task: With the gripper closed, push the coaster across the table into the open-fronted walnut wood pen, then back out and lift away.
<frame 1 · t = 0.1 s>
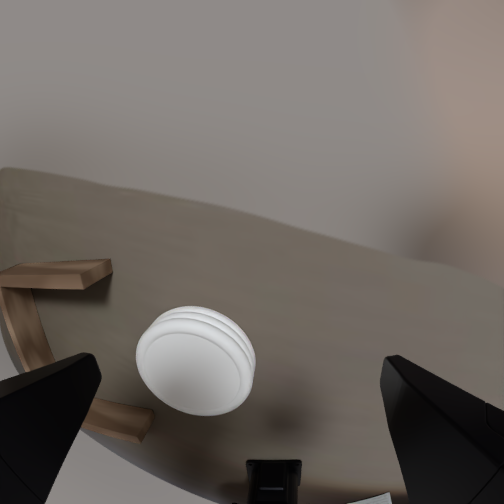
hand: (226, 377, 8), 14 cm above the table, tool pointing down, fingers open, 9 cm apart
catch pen: (83, 344, 26), on the table
supplement box: (367, 503, 30), on the table
coaster: (201, 352, 25), on the table
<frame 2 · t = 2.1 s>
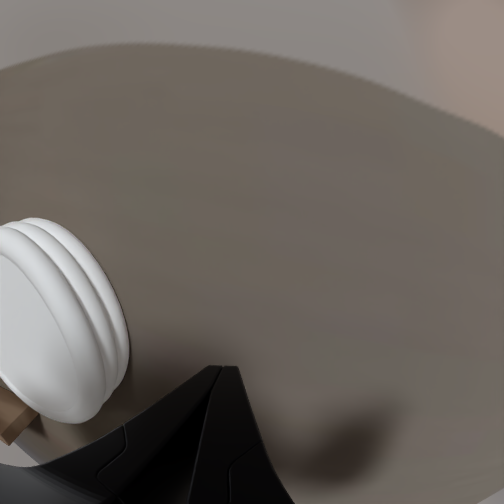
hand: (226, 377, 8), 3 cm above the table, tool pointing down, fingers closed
coaster: (57, 310, 12), on the table
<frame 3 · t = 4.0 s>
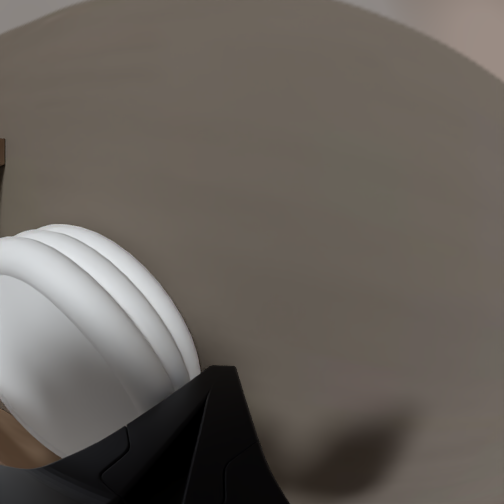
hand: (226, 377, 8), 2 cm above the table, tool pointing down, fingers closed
coaster: (91, 342, 10), on the table, touching gripper
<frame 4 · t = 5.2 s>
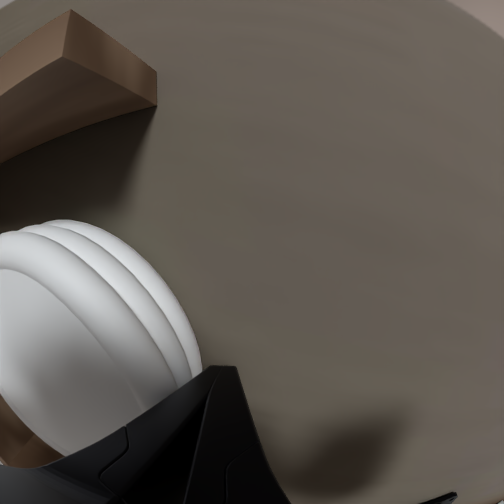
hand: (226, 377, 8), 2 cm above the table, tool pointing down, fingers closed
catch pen: (55, 337, 10), on the table
coaster: (93, 338, 10), on the table, touching gripper
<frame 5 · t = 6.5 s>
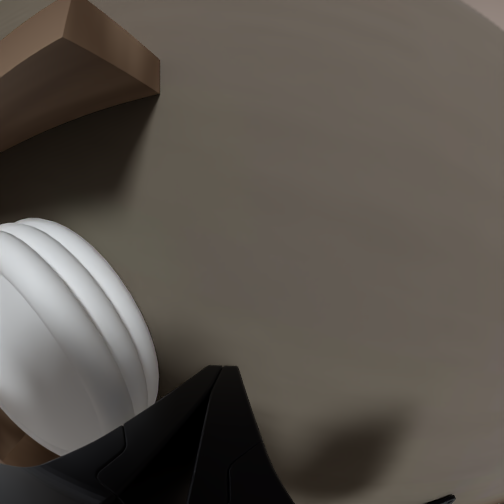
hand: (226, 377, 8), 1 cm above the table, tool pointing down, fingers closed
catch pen: (51, 332, 10), on the table
coaster: (63, 330, 10), on the table
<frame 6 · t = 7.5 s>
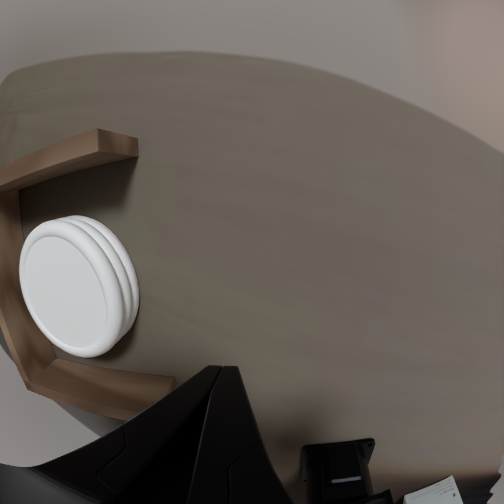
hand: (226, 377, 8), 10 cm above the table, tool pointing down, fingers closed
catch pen: (80, 279, 19), on the table
supplement box: (425, 493, 23), on the table
coaster: (88, 279, 20), on the table
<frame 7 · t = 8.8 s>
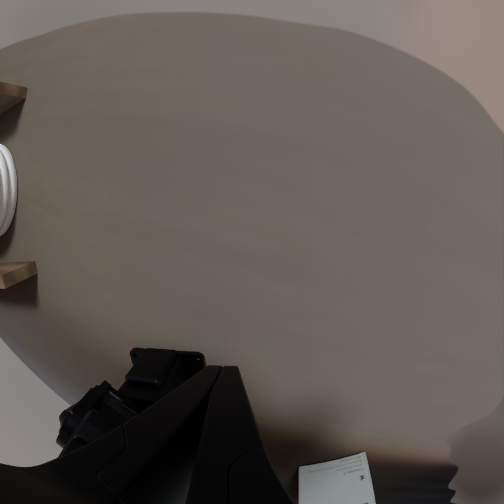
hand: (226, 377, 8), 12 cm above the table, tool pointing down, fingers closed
supplement box: (335, 472, 24), on the table
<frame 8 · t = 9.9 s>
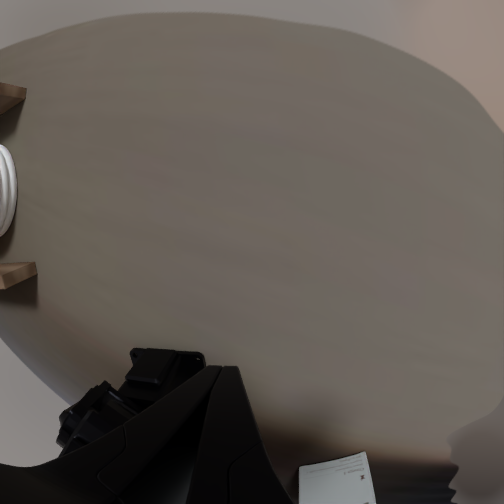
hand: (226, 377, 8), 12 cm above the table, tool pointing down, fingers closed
supplement box: (336, 471, 24), on the table
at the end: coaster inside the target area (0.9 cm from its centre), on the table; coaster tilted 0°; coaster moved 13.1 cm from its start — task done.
